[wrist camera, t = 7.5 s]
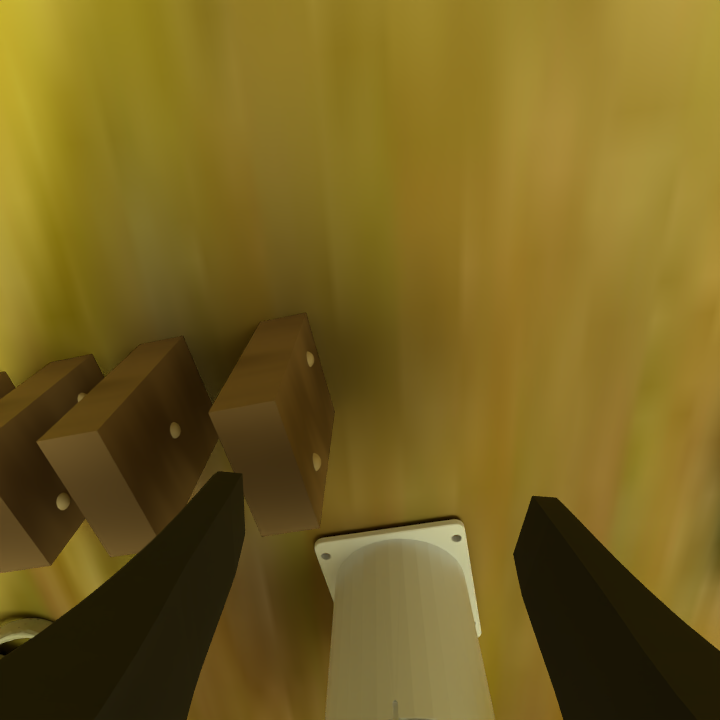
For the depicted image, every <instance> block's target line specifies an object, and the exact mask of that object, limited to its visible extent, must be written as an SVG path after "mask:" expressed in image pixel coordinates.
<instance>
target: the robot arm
mask: <svg viewBox="0 0 720 720" xmlns="http://www.w3.org/2000/svg"><path fill="white" fill-rule="evenodd" d="M454 535H458V536H454ZM244 536H245V520H244V496H243V473H231V472H219V471H218V472H217V473H215V474H214V475H213V476H212V477H211V478H210V479H209V481H208V482H207V483H206V484H205V485H204V486H203V487H202V488H201V490H200V491H199V492H198V493H197V494H196V495H195V496H194V497H193V498H192V500H191V501H190V502H189V503H188V504H187V505H186V506H185V507H184V508H183V509H182V510H181V511H180V512H179V513H178V514H177V515H176V516H175V517H174V519H173V520H172V521H171V522H170V523H169V524H168V525H167V526H166V527H165V528H164V529H163V530H162V531H161V532H160V533H159V534H158V535H157V536H156V537H155V538H154V539H153V540H152V541H151V542H149V543H148V544H147V545H146V546H145V547H144V548H143V549H142V550H141V551H140V552H139V553H138V554H137V555H135V556H134V557H133V558H132V559H131V560H130V561H129V562H128V563H127V564H126V565H125V566H123V567H122V568H121V569H120V570H119V571H118V572H117V573H115V574H114V575H113V576H112V577H111V578H110V579H108V580H107V581H106V582H105V583H104V584H102V585H101V586H100V587H99V588H98V589H96V590H95V591H94V592H93V593H91V594H90V595H89V596H88V597H86V598H85V599H84V600H83V601H81V602H80V603H79V604H78V605H76V606H75V607H74V608H72V609H71V610H70V611H68V612H67V613H65V614H64V615H63V616H61V617H60V618H59V619H57V620H56V621H55V622H53V623H52V624H51V625H49V626H48V627H47V628H45V629H44V630H43V631H41V632H40V633H38V634H37V635H35V636H34V637H33V638H31V639H30V640H28V641H27V642H25V643H24V644H23V645H21V646H20V647H18V648H16V649H15V650H13V651H12V652H10V653H9V654H7V655H6V656H4V657H3V658H1V659H0V720H186V719H187V716H188V712H189V708H190V705H191V701H192V697H193V693H194V690H195V687H196V684H197V681H198V678H199V674H200V671H201V668H202V666H203V663H204V660H205V657H206V655H207V652H208V649H209V646H210V644H211V641H212V638H213V635H214V632H215V630H216V627H217V624H218V621H219V619H220V616H221V613H222V610H223V608H224V605H225V602H226V599H227V596H228V594H229V591H230V588H231V585H232V582H233V580H234V577H235V574H236V570H237V566H238V562H239V558H240V553H241V549H242V545H243V540H244ZM315 553H316V555H317V558H318V561H319V564H320V566H321V569H322V572H323V575H324V577H325V580H326V583H327V586H328V588H329V591H330V594H331V596H332V599H333V602H334V609H333V622H332V635H331V648H330V661H329V674H328V687H327V699H326V712H325V720H495V717H494V712H493V707H492V703H491V698H490V693H489V688H488V684H487V679H486V674H485V669H484V665H483V660H482V655H481V650H480V646H479V641H478V637H479V636H480V635H481V627H480V621H479V615H478V608H477V602H476V596H475V590H474V583H473V577H472V571H471V565H470V558H469V552H468V546H467V539H466V533H465V528H464V524H463V522H461V521H460V520H457V519H452V520H445V521H438V522H431V523H424V524H417V525H410V526H403V527H396V528H389V529H382V530H375V531H368V532H361V533H354V534H347V535H340V536H333V537H326V538H320V539H318V540H317V541H316V542H315ZM325 553H328V554H325ZM513 555H514V560H515V565H516V570H517V575H518V580H519V584H520V589H521V593H522V597H523V600H524V603H525V606H526V609H527V612H528V615H529V618H530V621H531V624H532V627H533V630H534V633H535V636H536V639H537V642H538V644H539V647H540V650H541V653H542V656H543V659H544V662H545V665H546V668H547V671H548V673H549V676H550V679H551V682H552V685H553V688H554V691H555V694H556V697H557V700H558V704H559V707H560V710H561V713H562V717H563V720H720V651H719V650H718V649H716V648H715V647H714V646H713V645H712V644H710V643H709V642H708V641H707V640H706V639H704V638H703V637H702V636H701V635H699V634H698V633H697V632H696V631H695V630H693V629H692V628H691V627H690V626H688V625H687V624H686V623H685V622H684V621H683V620H681V619H680V618H679V617H678V616H677V615H676V614H675V613H673V612H672V611H671V610H670V609H669V608H668V607H667V606H666V605H665V604H663V603H662V602H661V601H660V600H659V599H658V598H657V597H656V596H655V595H654V594H653V593H651V592H650V591H649V590H648V589H647V588H646V587H645V586H644V585H643V584H642V583H641V582H640V581H639V580H638V579H636V578H635V577H634V576H633V575H632V574H631V573H630V572H629V571H628V570H627V569H626V568H625V567H624V566H623V565H622V564H621V563H620V562H619V561H618V560H617V559H616V558H615V557H614V556H613V555H612V554H611V553H610V552H609V551H608V550H607V549H606V548H605V547H604V546H603V545H602V544H601V543H600V542H599V541H598V540H597V539H596V538H595V537H594V536H593V534H592V533H591V532H590V531H589V530H588V529H587V528H586V527H585V526H584V525H583V524H582V523H581V522H580V521H579V520H578V519H577V518H576V517H575V516H574V515H573V514H572V513H571V512H570V511H569V510H568V509H567V508H566V507H565V506H564V505H563V504H562V503H561V502H560V501H559V500H558V499H557V498H553V497H540V496H532V498H531V501H530V504H529V507H528V511H527V514H526V517H525V520H524V523H523V526H522V529H521V532H520V535H519V538H518V541H517V544H516V547H515V550H514V553H513Z"/></svg>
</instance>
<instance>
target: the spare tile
mask: <svg viewBox="0 0 720 720" xmlns="http://www.w3.org/2000/svg"><path fill="white" fill-rule="evenodd" d="M334 412H335V411H334V408H333V405H332V401H331V398H330V394H329V391H328V387H327V384H326V380H325V377H324V373H323V370H322V367H321V363H320V360H319V356H318V353H317V349H316V346H315V342H314V339H313V336H312V332H311V329H310V325H309V322H308V318H307V315H306V313H302V314H297V315H292V316H287V317H282V318H277V319H272V320H267V321H263V322H260V323H259V325H258V327H257V329H256V330H255V332H254V334H253V336H252V337H251V339H250V341H249V343H248V344H247V346H246V348H245V349H244V351H243V353H242V355H241V356H240V358H239V360H238V362H237V363H236V365H235V367H234V369H233V370H232V372H231V374H230V376H229V377H228V379H227V381H226V383H225V384H224V386H223V388H222V390H221V391H220V393H219V395H218V397H217V398H216V400H215V402H214V403H213V405H212V407H211V409H210V410H209V412H208V413H209V416H210V418H211V420H212V423H213V425H214V427H215V430H216V432H217V434H218V436H219V439H220V441H221V443H222V446H223V448H224V450H225V453H226V455H227V457H228V460H229V462H230V464H231V467H232V469H233V471H234V473H243V494H244V497H245V499H246V501H247V504H248V506H249V508H250V510H251V513H252V515H253V517H254V520H255V522H256V524H257V527H258V529H259V531H260V534H261V536H269V535H276V534H283V533H290V532H296V531H303V530H310V529H317V528H320V522H321V514H322V506H323V498H324V491H325V483H326V475H327V467H328V459H329V452H330V444H331V436H332V428H333V420H334Z"/></svg>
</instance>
